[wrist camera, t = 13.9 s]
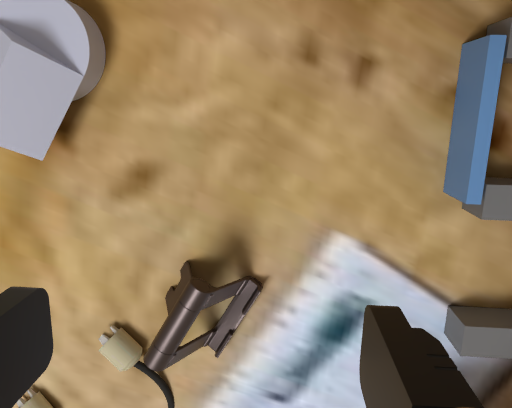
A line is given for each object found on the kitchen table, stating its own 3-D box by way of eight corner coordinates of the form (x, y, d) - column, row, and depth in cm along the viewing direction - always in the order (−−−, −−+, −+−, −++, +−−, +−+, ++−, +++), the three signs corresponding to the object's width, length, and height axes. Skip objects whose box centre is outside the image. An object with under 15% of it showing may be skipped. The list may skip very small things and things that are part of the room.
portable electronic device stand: (220, 348, 45) (207, 402, 37) (155, 312, 44) (127, 358, 36) (263, 282, 43) (259, 324, 35) (195, 243, 42) (175, 277, 34)
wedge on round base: (61, 156, 41) (122, 34, 38) (19, 166, 34) (89, 19, 31) (-22, 105, 40) (34, -23, 37) (-81, 105, 34) (-19, -50, 31)
